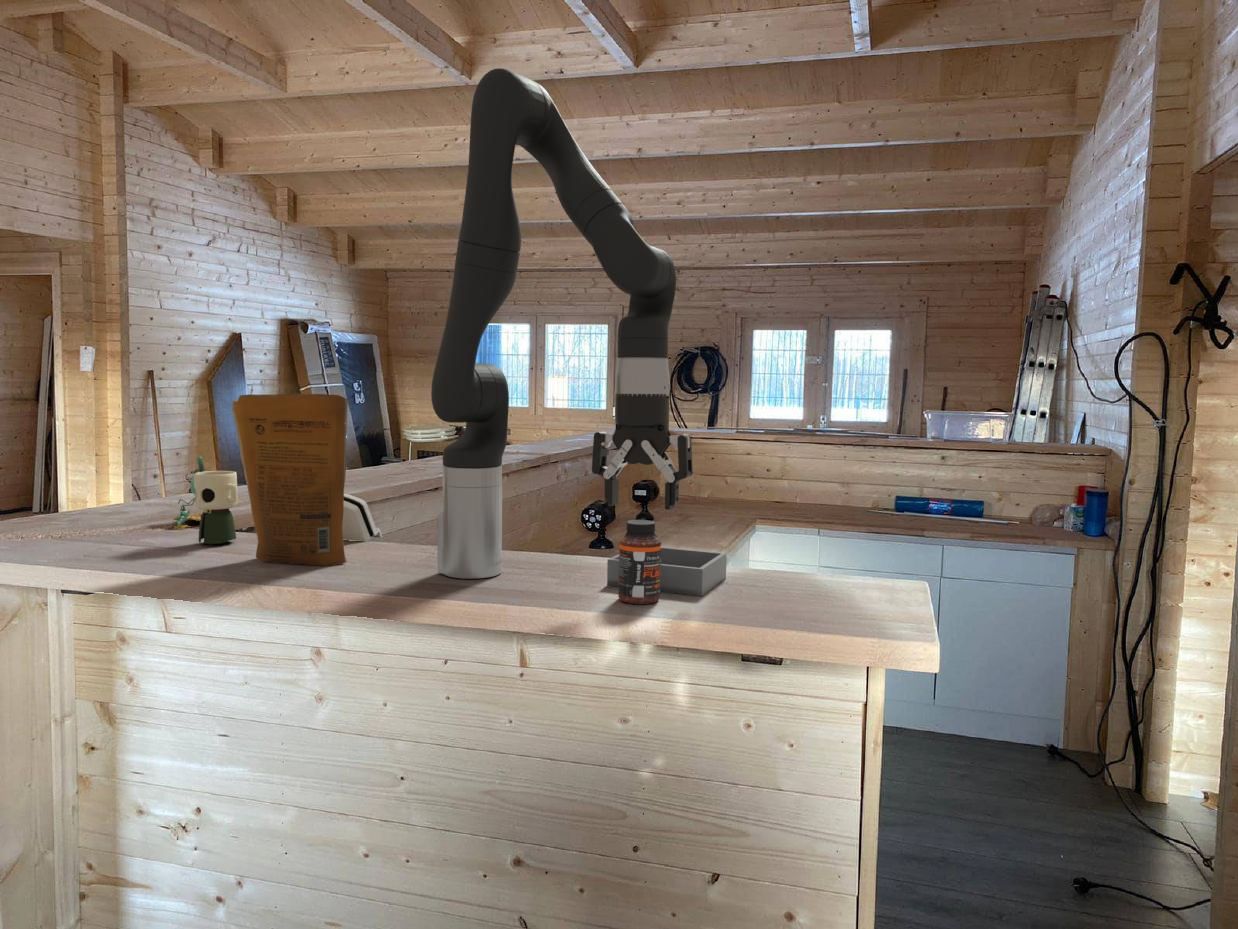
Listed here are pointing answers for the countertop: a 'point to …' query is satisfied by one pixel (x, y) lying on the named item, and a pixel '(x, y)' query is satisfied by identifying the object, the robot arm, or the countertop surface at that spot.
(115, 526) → the countertop surface
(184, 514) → the frog figurine
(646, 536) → the supplement bottle
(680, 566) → the bin
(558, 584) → the countertop surface
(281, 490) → the pancake mix bag
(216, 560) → the countertop surface
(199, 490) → the character mug
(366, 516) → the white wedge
